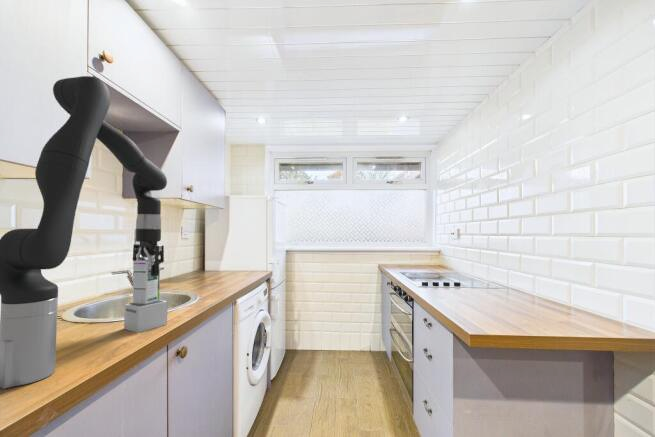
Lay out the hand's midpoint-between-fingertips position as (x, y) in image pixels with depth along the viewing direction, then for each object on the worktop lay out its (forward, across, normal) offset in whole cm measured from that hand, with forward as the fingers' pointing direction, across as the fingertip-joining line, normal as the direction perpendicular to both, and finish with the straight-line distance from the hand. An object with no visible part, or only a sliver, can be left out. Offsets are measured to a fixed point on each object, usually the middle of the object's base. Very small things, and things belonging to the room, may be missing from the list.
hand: (147, 274), depth 105 cm
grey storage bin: (+18, 0, 0) cm, 18 cm away
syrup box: (+10, 0, 0) cm, 10 cm away
